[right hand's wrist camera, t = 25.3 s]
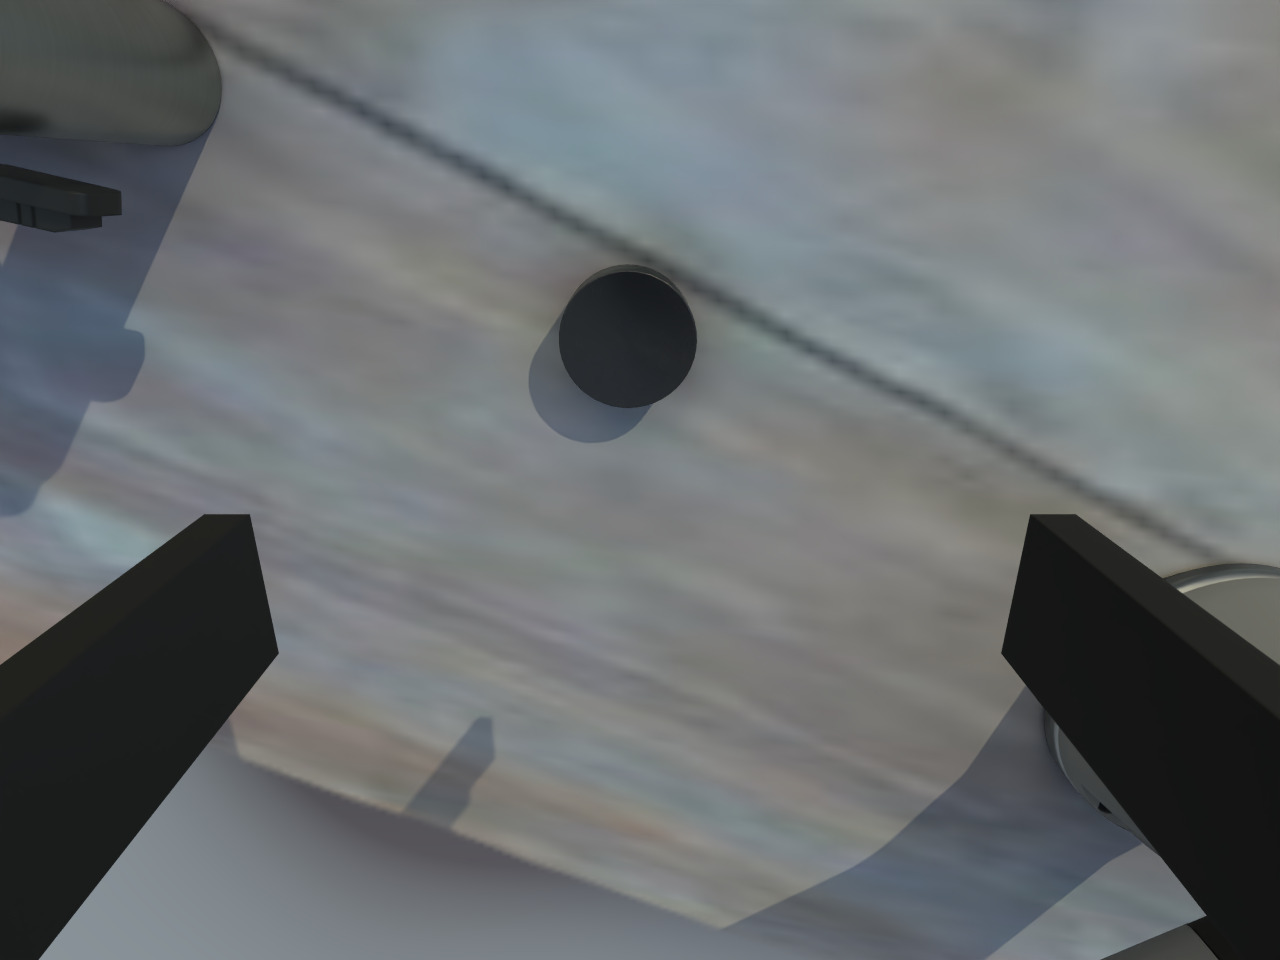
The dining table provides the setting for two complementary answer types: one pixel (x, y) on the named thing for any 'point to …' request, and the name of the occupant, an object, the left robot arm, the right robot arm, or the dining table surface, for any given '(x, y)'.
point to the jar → (105, 72)
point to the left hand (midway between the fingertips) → (99, 63)
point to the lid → (627, 336)
